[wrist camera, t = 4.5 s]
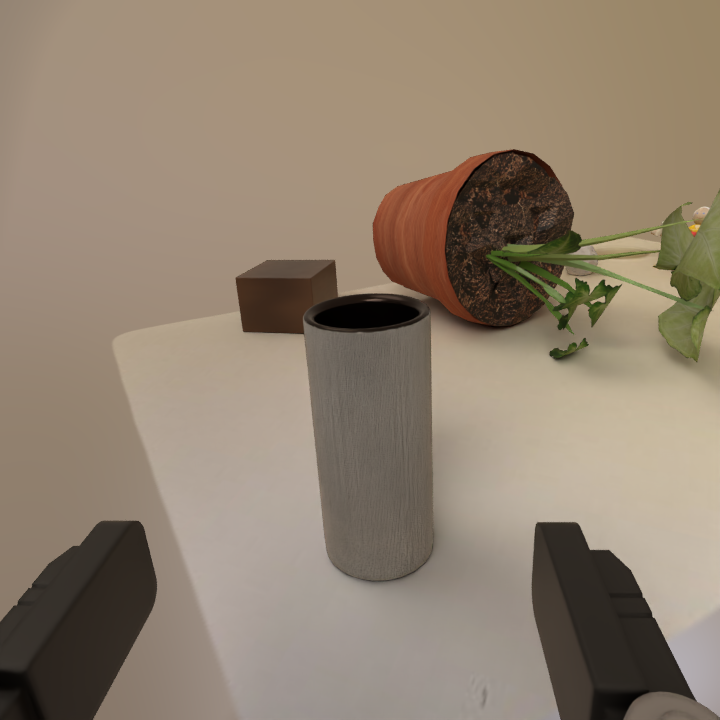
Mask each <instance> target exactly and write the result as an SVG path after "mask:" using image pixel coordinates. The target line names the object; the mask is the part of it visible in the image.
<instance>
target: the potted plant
mask: <svg viewBox="0 0 720 720" xmlns="http://www.w3.org/2000/svg"><path fill="white" fill-rule="evenodd" d="M689 204H692V203H691V202H687V203H685V204H683V205H681V206H680V207H679V208H677V209H676V210H675V211H674V212H672V213H671V214H670V215H669V216H668V218H667V219H666V220H665V221H664V222H663V225H662V226H657V227H652V228H647V229H642V230H637V231H631V232H627V233H621V234H616V235H610V236H605V237H599V238H592V239H587V240H582V239H581V237H580V235H579V234H577V233H575V232H573V231H571V226H572V221H573V217H574V212H573V209H572V206H571V203H570V200H569V197H568V194H567V192H566V191H565V190H564V189H563V187H562V185H561V183H560V181H559V180H558V178H557V177H556V175H555V174H554V172H553V170H552V169H551V167H550V166H549V165H548V164H546V163H545V162H544V161H542V160H541V159H540V158H538V157H537V156H536V155H535V154H533V153H528V152H524V151H519V150H515V149H513V150H506V151H497V152H491V153H486V154H482V155H478V156H474V157H470V158H469V159H467V160H466V161H465V162H463V163H462V164H461V165H459V166H458V167H456V168H455V169H454V170H452V171H449V172H446V173H442V174H439V175H435V176H432V177H428V178H425V179H421V180H418V181H414V182H411V183H407V184H403V185H401V186H397V187H396V188H395V189H393V190H392V191H391V192H389V193H388V194H386V195H385V197H384V199H383V201H382V202H381V204H380V206H379V208H378V211H377V213H376V216H375V219H374V222H373V241H374V247H375V253H376V258H377V260H378V262H379V264H380V266H381V268H382V270H383V272H384V273H385V274H386V275H387V276H388V277H389V278H390V280H391V281H392V282H395V283H397V284H400V285H402V286H404V287H406V288H409V289H412V290H414V291H417V292H419V293H422V294H425V295H427V296H430V297H432V298H435V299H438V300H439V301H440V302H441V303H442V304H443V305H444V306H445V307H446V308H447V309H448V310H449V311H450V312H451V313H452V314H454V315H456V316H459V317H461V318H463V319H465V320H468V321H471V322H475V323H480V324H484V325H489V326H512V325H514V324H516V323H518V322H521V321H523V320H525V319H527V318H529V317H530V316H532V315H533V314H534V313H535V312H536V311H537V310H538V309H540V308H541V306H542V305H544V304H546V306H547V308H548V309H549V311H550V312H551V313H552V314H553V315H554V316H555V317H556V318H557V319H558V320H559V324H558V326H557V327H558V329H559V330H561V329H562V328H563V330H564V328H566V329H567V330H568V331H569V332H571V333H572V334H574V333H573V332H572V330H571V328H570V326H569V324H568V321H569V320H570V318H571V316H572V314H573V313H574V311H575V309H576V307H577V305H580V304H583V303H584V304H585V305H587V306H588V307H589V308H590V309H589V310H588V311H589V317H590V318H591V325H592V326H591V327H593V326H594V324H595V323H596V321H597V320H598V318H599V317H600V316H601V314H602V313H603V311H604V310H605V308H606V307H607V306H608V304H609V303H610V301H611V300H612V298H613V297H614V296H615V294H616V293H617V291H618V290H619V288H620V287H621V285H622V284H621V285H620V286H615V287H611V286H610V285H607V286H606V285H605V280H602V281H601V282H600V283H599V285H598V286H596V287H595V289H594V290H593V292H592V293H591V294H590V295H589V293H590V289H589V285H587V282H583V280H582V281H579V279H577V278H576V279H575V283H576V291H575V290H574V289H573V288H572V287H571V286H570V285H569V284H568V283H566V282H565V281H563V280H561V279H560V276H561V274H562V271H563V268H564V266H569V267H574V268H578V269H583V270H587V271H591V272H595V273H599V274H602V275H606V276H609V277H613V278H616V279H619V280H622V281H625V282H628V283H630V284H633V285H636V286H638V287H641V288H644V289H646V290H649V291H652V292H654V293H657V294H660V295H662V296H665V297H667V298H670V299H672V300H675V301H677V302H676V303H675V304H674V305H673V306H672V307H670V308H669V309H668V310H666V311H665V312H663V313H662V314H660V315H659V316H658V317H659V321H658V322H659V331H660V333H661V334H662V335H663V337H664V338H665V339H666V340H667V342H668V344H669V345H670V346H671V347H673V348H675V349H676V350H677V351H679V352H680V353H681V354H683V355H684V356H685V357H686V358H689V357H690V358H693V359H694V360H695V361H696V362H697V361H698V356H699V351H700V346H701V341H702V337H703V332H704V328H705V325H706V321H707V318H708V316H709V314H710V312H711V311H712V308H713V306H714V304H715V303H716V301H717V299H718V298H719V296H720V190H719V192H718V194H717V196H716V198H715V200H714V202H713V204H712V206H711V208H710V209H709V211H708V213H707V215H706V216H705V218H701V219H704V220H703V222H702V224H701V225H700V227H699V229H698V231H697V233H696V235H695V237H694V236H693V234H692V233H691V231H690V230H689V228H688V226H687V224H686V222H690V221H695V220H690V221H684V219H683V217H682V216H681V213H682V208H681V207H682V206H684V205H689ZM696 220H699V219H696ZM661 228H663V229H662V239H661V250H657V251H641V252H628V253H619V254H610V255H572V254H570V253H574V252H577V251H578V250H579V249H580V248H581V247H583V246H588V245H594V244H598V243H603V242H608V241H612V240H616V239H620V238H625V237H629V236H633V235H637V234H640V233H645V232H649V231H653V230H657V229H661ZM656 252H660V253H659V258H658V263H657V264H656V265H657V266H653V267H655V268H658V269H663V270H675V271H672V272H671V273H672V277H671V281H670V284H671V286H672V287H674V286H675V288H676V289H677V291H678V293H679V296H680V297H681V298H678V297H675V296H673V295H670V294H667V293H665V292H662V291H659V290H656V289H654V288H651V287H648V286H645V285H643V284H640V283H637V282H635V281H632V280H630V279H627V278H624V277H622V276H620V275H617V274H615V273H612V272H610V271H607V270H605V269H602V268H600V267H597V266H595V265H592V264H589V263H587V262H584V261H581V260H604V259H611V258H618V257H625V256H631V255H638V254H647V253H656ZM700 281H701V282H700ZM557 284H558V285H560V286H562V287H564V288H565V289H567V290H568V291H569V292H568V293H567V294H566V297H565V299H564V297H563V296H562V295H561V294H559V293H558V292H557V291H556V290H555V289H554V288H555V287H556V285H557ZM549 296H551V297H553V298H554V299H555V300H557V301H558V302H559V303H561V304H560V305H558V306H555V307H554V306H553V305H552V304H551V303H550V302H549V301H548V300H547V299H548V298H549ZM603 296H605V303H601V302H598V301H597V302H595V303H594V304H593V305H592V304H591V303H590V302H589V301H592V300H595V299H598V298H600V297H603ZM566 308H567V309H568V311H569V313H568V314H567V315H565V316H564V315H561V313H560V312H559V310H562V309H566ZM574 335H575V334H574ZM587 343H588V342H586V338H584V339H583V341H582V342H581V343H580V345H579V346H578V348H577V345H576V343H572V344H570V345H569V347H568V350H565V351H563V350H559V349H558V348H554V349H553V350H552V351H550V356H553V358H560V357H562V356H565V355H567V354H570V353H572V352H575V351H577V350H579V349H582V348H584V347H586V346H588V345H589V344H587ZM576 348H577V349H576Z"/></svg>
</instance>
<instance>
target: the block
mask: <svg viewBox="0 0 720 720" xmlns="http://www.w3.org/2000/svg"><path fill="white" fill-rule="evenodd" d="M236 285H237V292H238V299H239V306H240V313H241V320H242V327H243V331H244V332H274V333H304V326H303V316H304V314H305V312H306V311H307V310H308V309H309V308H311V307H312V306H314V305H316V304H318V303H320V302H323V301H326V300H329V299H333V298H338V292H337V279H336V266H335V260H267V261H265V262H263V263H262V264H259V265H258V266H256V267H254V268H252V269H250V270H249V271H247V272H245V273H243V274H241V275H240V276H238V277H236Z"/></svg>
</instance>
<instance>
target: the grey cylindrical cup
mask: <svg viewBox="0 0 720 720" xmlns="http://www.w3.org/2000/svg"><path fill="white" fill-rule="evenodd" d="M303 326H304V337H305V347H306V357H307V366H308V376H309V386H310V396H311V406H312V416H313V426H314V436H315V446H316V456H317V466H318V476H319V486H320V496H321V506H322V516H323V526H324V536H325V543H326V549H327V553H328V556H329V558H330V560H331V561H332V562H333V564H334V565H335V566H336V567H337V568H339V569H340V570H341V571H343V572H345V573H346V574H348V575H351V576H353V577H356V578H360V579H364V580H373V581H384V580H391V579H396V578H400V577H403V576H405V575H407V574H410V573H412V572H413V571H415V570H416V569H418V568H419V567H420V566H422V565H423V564H424V563H425V561H426V560H427V559H428V557H429V556H430V554H431V551H432V547H433V462H432V386H431V316H430V309H429V307H428V306H427V305H426V304H425V303H424V302H422V301H420V300H418V299H415V298H412V297H408V296H403V295H396V294H357V295H349V296H343V297H338V298H333V299H329V300H326V301H323V302H320V303H318V304H316V305H314V306H312V307H311V308H309V309H308V310H307V311H306V312H305V314H304V316H303Z"/></svg>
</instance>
